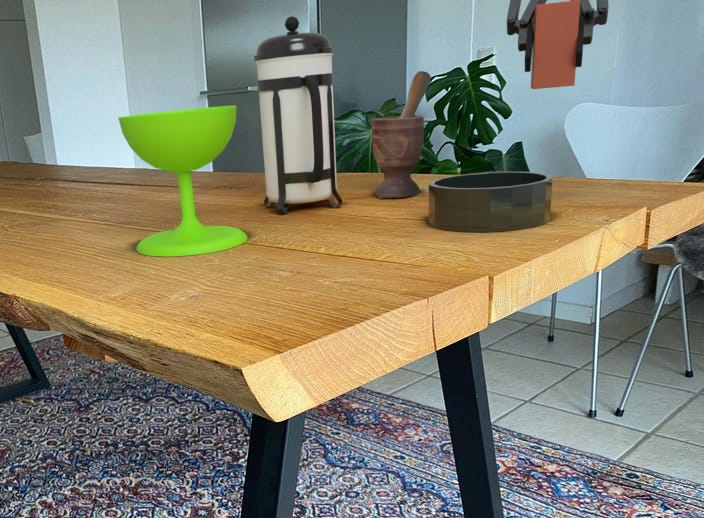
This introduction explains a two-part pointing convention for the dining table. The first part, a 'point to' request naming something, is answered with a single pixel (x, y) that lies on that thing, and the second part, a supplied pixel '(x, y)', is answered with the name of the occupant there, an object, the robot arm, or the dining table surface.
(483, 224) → the bowl
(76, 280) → the dining table surface
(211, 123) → the wineglass
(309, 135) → the coffee press
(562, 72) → the block
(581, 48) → the robot arm
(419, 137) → the mortar and pestle
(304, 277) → the dining table surface
